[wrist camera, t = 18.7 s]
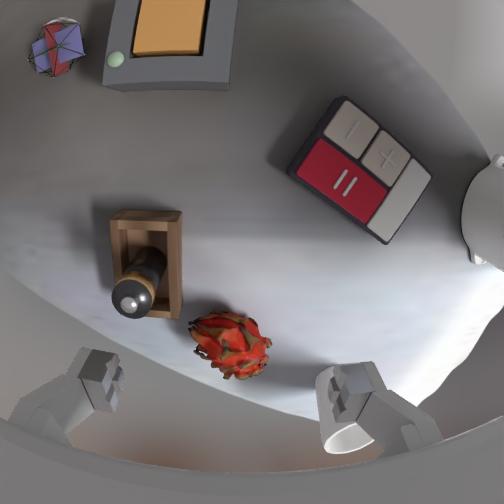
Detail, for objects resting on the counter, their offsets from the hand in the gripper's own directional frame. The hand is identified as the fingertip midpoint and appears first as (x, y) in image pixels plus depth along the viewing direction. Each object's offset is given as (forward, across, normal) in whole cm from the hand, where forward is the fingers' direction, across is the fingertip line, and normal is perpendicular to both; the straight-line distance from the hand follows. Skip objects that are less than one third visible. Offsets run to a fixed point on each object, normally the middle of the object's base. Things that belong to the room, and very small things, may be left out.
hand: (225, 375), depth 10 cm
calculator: (+27, -14, -5) cm, 31 cm away
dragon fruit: (+26, 0, +18) cm, 31 cm away
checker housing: (+26, +7, -18) cm, 32 cm away
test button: (+22, +7, -18) cm, 30 cm away
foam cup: (+26, -18, +29) cm, 43 cm away
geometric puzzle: (+25, +21, -18) cm, 38 cm away
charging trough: (+25, +10, +8) cm, 28 cm away
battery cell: (+24, +10, +8) cm, 27 cm away
